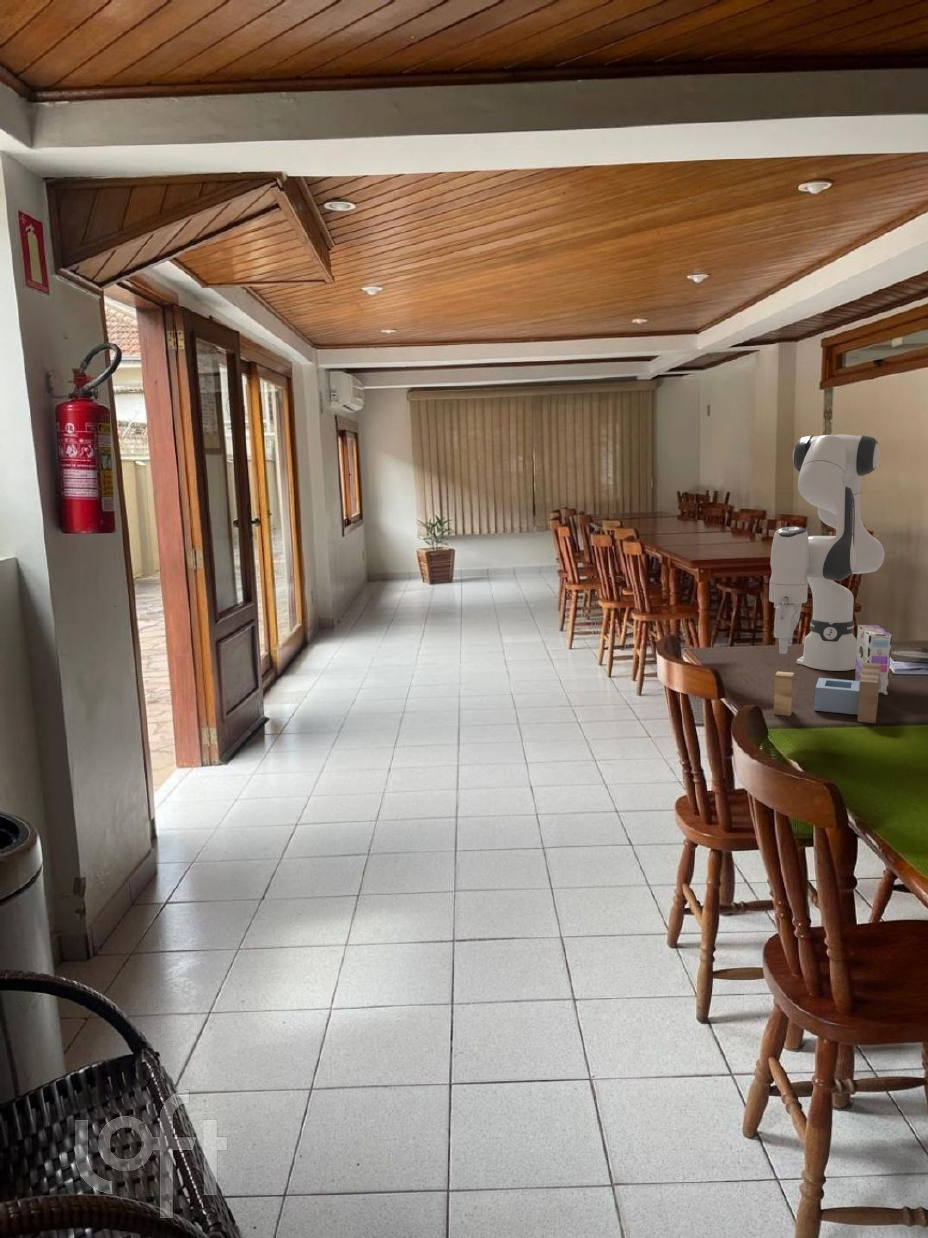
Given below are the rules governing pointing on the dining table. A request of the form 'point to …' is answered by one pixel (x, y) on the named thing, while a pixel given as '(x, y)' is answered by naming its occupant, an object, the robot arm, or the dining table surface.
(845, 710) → the socket block
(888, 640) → the candy box
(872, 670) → the wall
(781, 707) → the tan wooden block
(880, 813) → the dining table surface
